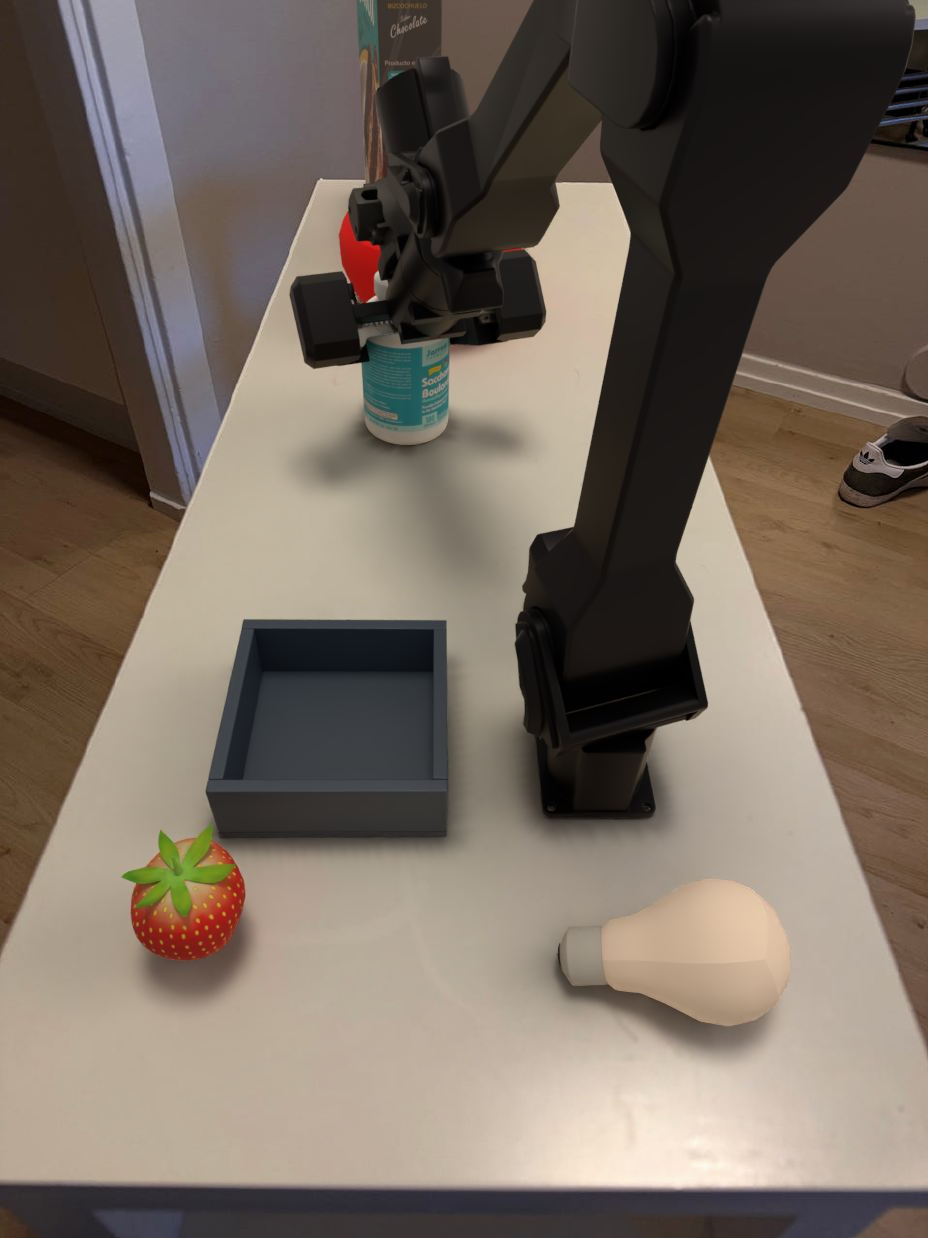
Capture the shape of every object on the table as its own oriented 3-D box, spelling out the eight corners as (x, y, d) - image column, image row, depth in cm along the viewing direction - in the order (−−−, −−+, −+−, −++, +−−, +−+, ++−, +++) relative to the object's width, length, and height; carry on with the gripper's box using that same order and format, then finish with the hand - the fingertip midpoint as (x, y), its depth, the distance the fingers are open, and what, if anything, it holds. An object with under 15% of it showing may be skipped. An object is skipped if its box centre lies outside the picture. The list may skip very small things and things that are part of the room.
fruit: (246, 991, 42) (218, 916, 37) (140, 989, 42) (95, 913, 37) (265, 889, 46) (242, 806, 40) (168, 886, 46) (131, 803, 40)
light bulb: (541, 975, 38) (803, 966, 36) (547, 859, 44) (775, 844, 41) (566, 1059, 42) (807, 1056, 39) (569, 941, 47) (781, 932, 45)
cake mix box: (366, 206, 113) (351, -89, 92) (412, 205, 114) (408, -89, 93) (386, 280, 98) (374, -53, 77) (439, 277, 99) (442, -53, 78)
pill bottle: (438, 454, 74) (438, 302, 65) (354, 443, 75) (343, 291, 66) (456, 408, 80) (459, 262, 70) (378, 398, 81) (370, 252, 71)
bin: (446, 836, 49) (447, 791, 45) (219, 837, 48) (204, 792, 45) (445, 667, 57) (446, 619, 54) (253, 667, 57) (243, 618, 54)
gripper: (546, 137, 60) (484, 236, 75) (277, 160, 56) (269, 261, 71) (579, 296, 61) (512, 363, 76) (315, 332, 56) (299, 396, 71)
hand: (401, 343), depth 73 cm, fingers closed on pill bottle, 7 cm apart
